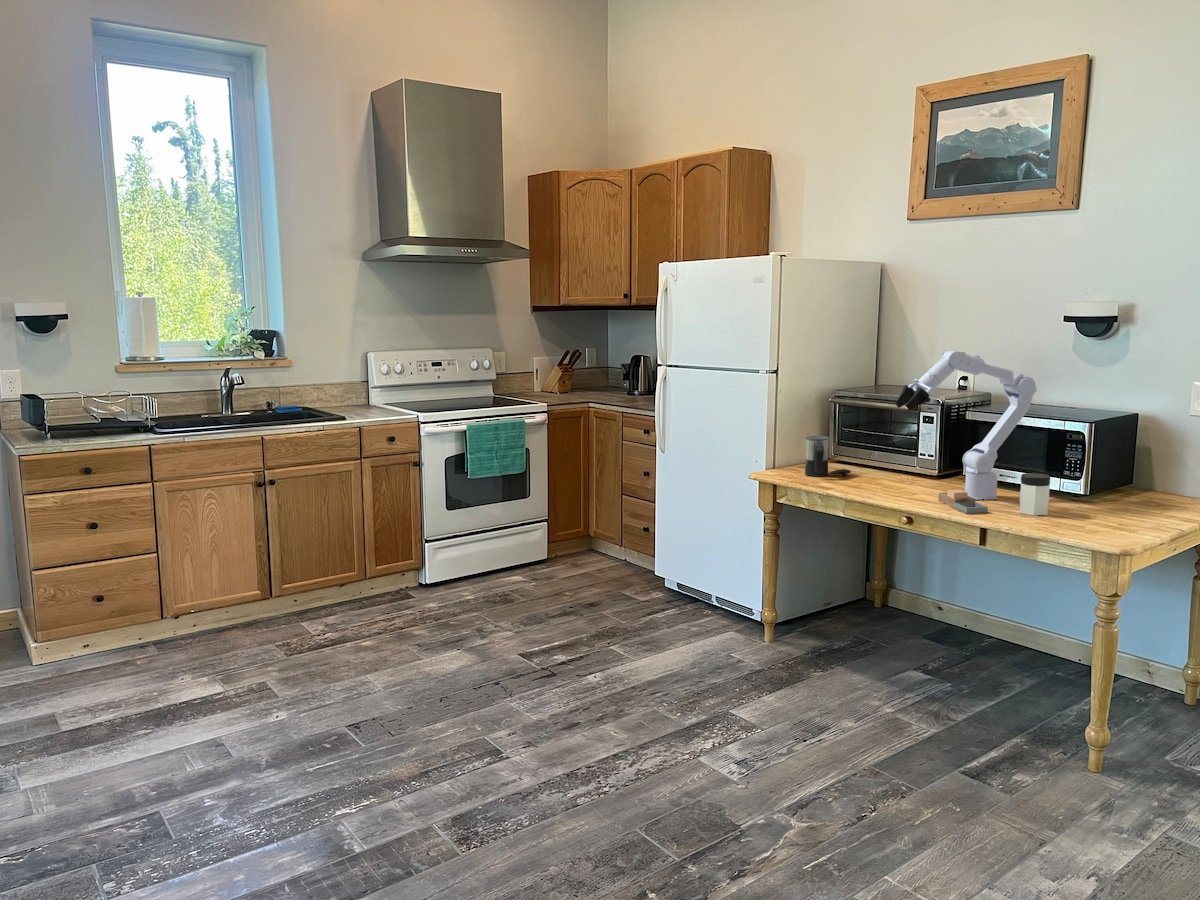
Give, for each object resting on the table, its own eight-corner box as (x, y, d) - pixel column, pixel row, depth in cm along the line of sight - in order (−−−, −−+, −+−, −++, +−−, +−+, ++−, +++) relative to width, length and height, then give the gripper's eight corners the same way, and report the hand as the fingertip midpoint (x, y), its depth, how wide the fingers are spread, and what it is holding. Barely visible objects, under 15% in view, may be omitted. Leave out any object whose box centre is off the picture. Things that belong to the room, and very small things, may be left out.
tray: (974, 507, 280) (975, 501, 279) (987, 513, 272) (988, 507, 272) (954, 508, 279) (954, 502, 279) (966, 514, 272) (966, 508, 271)
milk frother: (800, 473, 341) (801, 436, 338) (837, 471, 343) (838, 434, 341) (815, 480, 327) (816, 441, 324) (854, 478, 330) (855, 439, 327)
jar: (1018, 508, 277) (1020, 471, 275) (1047, 510, 274) (1049, 473, 272) (1019, 515, 269) (1021, 477, 267) (1048, 517, 266) (1051, 479, 264)
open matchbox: (958, 500, 290) (958, 491, 289) (974, 507, 280) (975, 498, 279) (938, 501, 289) (938, 492, 289) (954, 508, 279) (954, 499, 278)
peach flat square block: (960, 495, 284) (960, 489, 284) (967, 498, 280) (967, 492, 280) (947, 495, 284) (947, 489, 283) (954, 498, 279) (954, 492, 279)
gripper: (915, 368, 291) (885, 395, 292) (936, 371, 277) (904, 400, 277) (927, 383, 293) (898, 410, 293) (949, 387, 278) (918, 416, 279)
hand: (902, 406), depth 285 cm, fingers open, 7 cm apart
